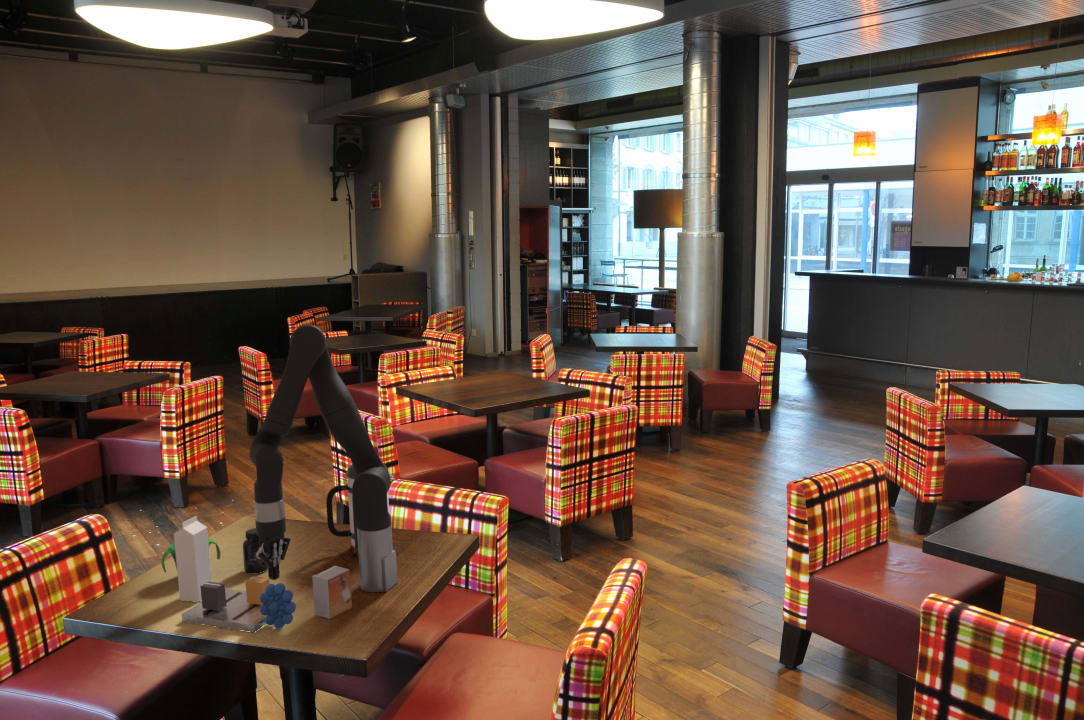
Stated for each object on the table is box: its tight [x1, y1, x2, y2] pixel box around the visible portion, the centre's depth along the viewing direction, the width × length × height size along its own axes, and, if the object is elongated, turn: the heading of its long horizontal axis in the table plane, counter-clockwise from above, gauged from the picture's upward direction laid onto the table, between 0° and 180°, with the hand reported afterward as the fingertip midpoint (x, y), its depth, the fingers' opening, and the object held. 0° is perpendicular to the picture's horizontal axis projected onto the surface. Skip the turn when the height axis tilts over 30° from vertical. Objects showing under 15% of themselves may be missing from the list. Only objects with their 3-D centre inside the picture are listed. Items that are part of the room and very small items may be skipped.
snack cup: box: [161, 538, 221, 573], centre depth 236 cm, size 16×10×10 cm
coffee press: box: [325, 462, 394, 557], centre depth 252 cm, size 17×16×30 cm
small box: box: [311, 565, 353, 620], centre depth 212 cm, size 8×6×10 cm
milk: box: [173, 515, 213, 603], centre depth 222 cm, size 6×6×22 cm
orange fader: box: [245, 575, 270, 605], centre depth 213 cm, size 5×3×6 cm, turn 71°
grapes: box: [260, 582, 297, 630], centre depth 204 cm, size 12×7×12 cm, turn 61°
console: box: [181, 588, 295, 633], centre depth 213 cm, size 22×16×2 cm
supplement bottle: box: [242, 527, 268, 574], centre depth 240 cm, size 7×7×12 cm
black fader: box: [200, 581, 227, 611], centre depth 211 cm, size 5×3×6 cm, turn 71°
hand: (274, 578), depth 220 cm, fingers closed
